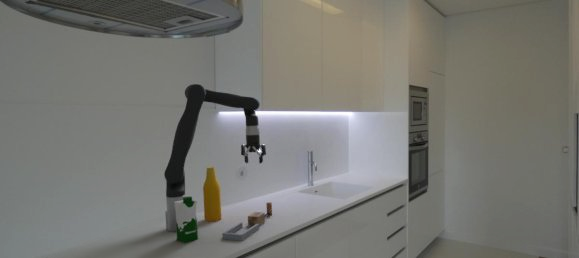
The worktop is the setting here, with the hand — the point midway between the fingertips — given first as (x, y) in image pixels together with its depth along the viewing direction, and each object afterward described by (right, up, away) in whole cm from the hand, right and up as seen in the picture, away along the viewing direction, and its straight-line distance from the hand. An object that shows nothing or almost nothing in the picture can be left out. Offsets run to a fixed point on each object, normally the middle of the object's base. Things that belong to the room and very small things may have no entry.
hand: (253, 163), depth 199 cm
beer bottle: (-22, -31, -2) cm, 38 cm away
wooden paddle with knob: (+5, -30, -6) cm, 31 cm away
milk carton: (-28, -33, -33) cm, 54 cm away
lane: (-3, -31, -27) cm, 41 cm away
